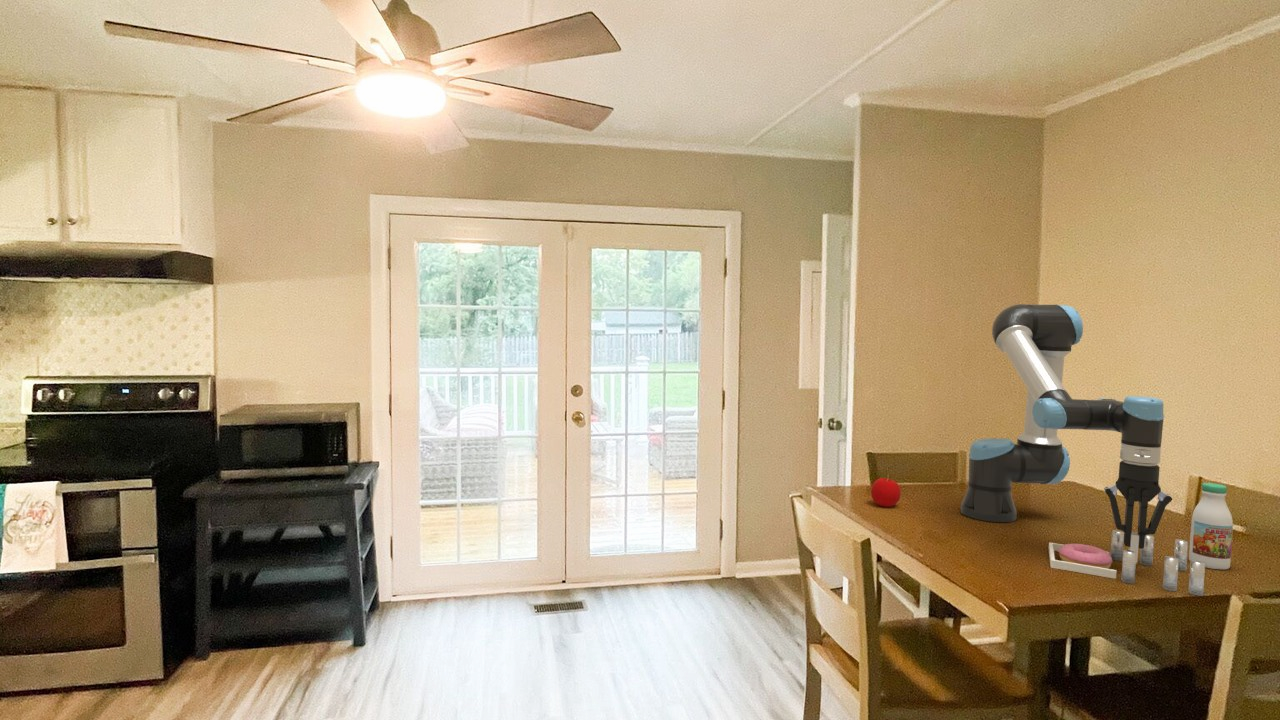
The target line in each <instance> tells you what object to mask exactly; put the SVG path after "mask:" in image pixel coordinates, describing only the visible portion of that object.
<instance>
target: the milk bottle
mask: <svg viewBox="0 0 1280 720" xmlns="http://www.w3.org/2000/svg"><path fill="white" fill-rule="evenodd" d="M1201 492H1202V495H1201V498H1200V500H1199V502H1198V503H1197V505H1196V506H1195V508H1194V510H1193V512H1192V514H1191V515H1192V516H1191V521H1190V522H1191V523H1190V536H1189V548H1188V550H1189V551H1188V552H1189V553H1188V560H1189V562H1191V560H1196V561H1201V562H1204V563H1205V568H1208V569H1212V570H1213V569H1214V570H1221V571H1222V570H1223V571H1224V570H1228V569H1229V568H1230V567H1231V560H1232V547H1233V546H1232V545H1233V531H1234V530H1233V529H1234V528H1233V525H1234V521H1233V515H1232V513H1231V511H1230V509H1229V507H1228V504H1227V502H1226V496H1227V493H1228V488H1227V486H1226V485H1223V484H1220V483H1214V482H1213V483H1212V482H1203V483H1202V484H1201Z"/></svg>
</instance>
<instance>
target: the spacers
mask: <svg viewBox="0 0 1280 720" xmlns="http://www.w3.org/2000/svg"><path fill="white" fill-rule="evenodd" d="M1110 537H1111V540H1110V553H1109V555H1111V558H1112V560H1113V561H1115V562H1117V561H1118V562H1121V563H1122V565H1121V582H1123V583H1124V584H1127V585H1128V584H1130V585H1134V584H1135V582H1136V581H1135V579H1136V565H1137V563H1136V552H1134V551H1131V550H1129V549H1124V532H1123V531H1122V530H1118V529H1112V530H1111V536H1110ZM1154 543H1155V536H1153V535H1152V534H1148V535H1146V536H1145V542H1144V548H1143V549H1141V548H1140V554H1139V555H1140V557H1139V558H1140V559H1139V564H1140V565H1143V566H1148V567H1149V566H1150V567H1152V566H1153V562H1154V561H1153V560H1154V558H1153V557H1154V546H1155V545H1154ZM1188 550H1189V541H1187V540H1184V539H1178V538H1177V539H1174V554H1173V556H1171V555H1170V556H1169V555H1166V556H1164V561H1163V580H1162V589H1164V590H1166V591H1170V592H1177V591H1178V590H1177V589H1178V576H1179V571H1180V572H1186V571H1187V569H1188V568H1187V566H1188V554H1189V553H1188V552H1189V551H1188ZM1189 567H1190V568H1189V580H1188V581H1189V583H1188V594H1191V595H1194V596H1199V597H1202V596H1204V585H1205V574H1206V573H1205V571H1206V567H1205V563H1204V562H1201V561H1196V560H1191V561H1190V566H1189ZM1178 570H1179V571H1178Z"/></svg>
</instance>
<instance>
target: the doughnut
mask: <svg viewBox="0 0 1280 720" xmlns="http://www.w3.org/2000/svg"><path fill="white" fill-rule="evenodd" d="M1107 552H1108V551H1107ZM1107 552H1106V550H1104V549H1102V548H1101V547H1097V546H1094V545H1088V544H1082V543H1066V544H1063V546H1062V547H1060V550H1059V552H1058V554H1059V557H1060V558H1059V559H1060V560H1061V561H1065V562H1071V563H1077V564H1083V565H1089V566H1095V567H1101V568H1107V569H1110V568H1111V566H1112V563H1113V561H1114V560H1112V558H1111V555H1110V553H1109V554H1108V553H1107Z"/></svg>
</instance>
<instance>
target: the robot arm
mask: <svg viewBox="0 0 1280 720" xmlns="http://www.w3.org/2000/svg"><path fill="white" fill-rule="evenodd" d="M991 333H992V339H993V341H994V343H995V345H996V347H997V349H998V350H1000V351H1001V352H1004V353H1005V354H1006V355H1007V358H1008V359H1009V361H1010V362H1011V364H1012V366H1013V367H1014V369H1015V371H1016V372H1017V374H1018V375H1019V377H1020V379H1021V380H1022V382H1023V384H1024V385H1025V388H1027V391H1026V393H1027V394H1026V404H1025V417H1024V426H1023V432H1022V433H1021V434H1020V435H1018V436H1017V442H1016V443H1015V442H1013V440H1011V439H1008V438H995V437H994V438H992V437H991V438H983V439H978V440H975V441H973V442H972V443H971V444H970V447H969V454H968V458H969V459H968V480H967V481H968V482H967V483H968V485H967V490H966V492H965V494H964V496H963V498H962V499H963V500H962V501H961V504H960V514H962V515H964V516H966V517H968V518H972V519H974V520H979V521H984V522H991V523H992V522H993V523H1011V522H1015V521H1016V520H1017V515H1018V514H1017V513H1018V512H1017V508H1016V505H1015V503H1014V498H1013V496H1012V485H1013V484H1012V483H1017V484H1040V485H1051V484H1052V485H1053V484H1059V483H1060V482H1062V481H1063V480H1064V479H1066V477H1067V475H1068V473H1069V471H1070V465H1071V458H1070V456H1069V455H1070V454H1069V451H1068V450H1067V448H1066V447H1064V446H1063V441H1062V440H1061V439H1060V438H1059V437H1058V431H1059V430H1084V431H1085V430H1087V431H1089V430H1090V431H1112V432H1118V433H1120V434H1121V439H1120V451H1119V453H1120V454H1119V459H1121V461H1119V464H1118V465H1119V466H1118V478H1117V480H1116V481H1115V484H1114V485H1113V484H1112V485H1111V486H1105V487H1104V492H1105V494H1106V495H1107V496H1108V498H1109V503H1110V506H1111V507H1110V508H1111V511H1112V516H1113V520H1114V526H1115V527H1116V530H1117V531H1122V532H1124V537H1123V546H1124V547H1128V550H1131V551H1134V552H1136V564H1138V560H1139V559H1138V558H1139V549H1140V550H1141V549H1143V548H1144V542H1145V536H1146V535H1151V536H1153V535H1155V534H1156V532H1157V529H1158V527H1159V524H1160V522H1161V519H1162V517H1163V514H1164V512H1165V509H1166V507H1167V506H1168V505H1169V504H1170V503H1171V502H1172V500H1173V497H1172V496H1171V495H1170V494H1168V493H1165V492H1164V491H1163V490H1162V488H1161V486H1160V484H1159V483H1160V481H1159V480H1160V470H1161V469H1160V466H1159V464H1160V463H1161V453H1162V452H1161V450H1162V440H1163V439H1162V438H1163V429H1164V419H1165V414H1164V402H1163V400H1162V399H1160V398H1157V397H1149V396H1139V395H1136V396H1135V395H1131V396H1129V395H1128V396H1126V397H1125V398H1124V400H1123V401H1120V400H1116V399H1114V398H1098V399H1076V398H1075V399H1073V398H1072V397H1071V396H1070V393H1068V391H1067V390H1066V388H1065V387H1064V385H1063V376H1064V375H1063V374H1064V366H1065V357H1066V356H1067V355H1069V354H1071V353H1072V346H1075V345H1077V344H1079V342H1080V341H1081V339H1082V337H1083V333H1084V325H1083V320H1082V317H1081V315H1080V313H1079V312H1078V311H1077V310H1076V309H1075V308H1074V307H1073V306H1070V305H1063V304H1057V303H1056V304H1025V303H1024V304H1023V303H1021V304H1020V303H1018V304H1014V305H1011V306H1008V307H1006V308H1004V309H1003V310H1002V311H1001V312H1000V313H998V315H997V316H996V318H995V319H994V322H993V323H992V328H991ZM1117 491H1119V492H1120V494H1121V495H1122V497H1124V499H1125V509H1124V510H1125V512H1124V523H1122V519H1121V514H1120V509H1119V505H1118V501H1117V498H1116V496H1117V494H1118V492H1117ZM1157 495H1158V496H1157ZM1156 497H1157V500H1158V501H1157V503H1156V506H1155V508H1154V510H1153V512H1152V513H1153V514H1152V516H1151V518H1150V521H1149V523H1148V526H1147V520H1148V517H1147V516H1148V515H1147V514H1148V508H1149V502H1151V501H1152V500H1153V499H1155V498H1156ZM1135 502H1136V503H1137V502H1138V520H1137V531H1136V532H1134V531H1133V520H1134V507H1135Z"/></svg>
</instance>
